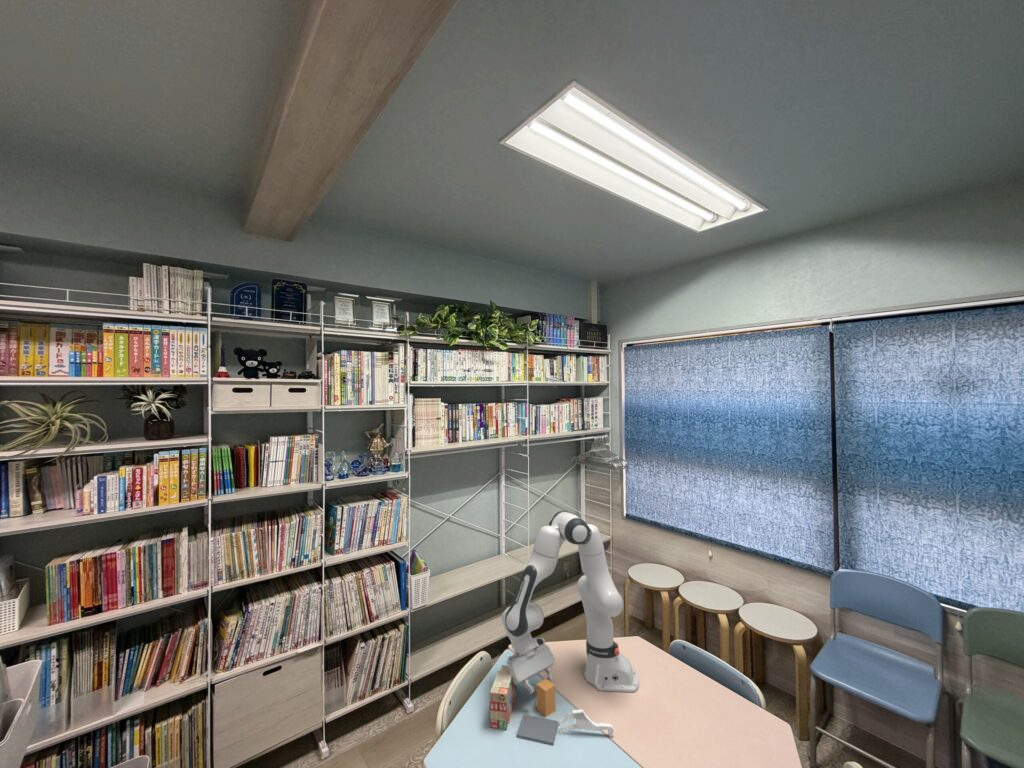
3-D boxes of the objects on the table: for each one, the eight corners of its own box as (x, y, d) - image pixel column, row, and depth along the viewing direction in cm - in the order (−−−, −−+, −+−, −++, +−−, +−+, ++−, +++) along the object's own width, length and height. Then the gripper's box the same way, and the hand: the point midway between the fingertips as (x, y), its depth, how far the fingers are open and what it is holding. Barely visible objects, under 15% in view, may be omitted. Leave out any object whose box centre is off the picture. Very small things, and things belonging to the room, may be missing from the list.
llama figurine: (568, 753, 137) (616, 736, 136) (555, 720, 138) (602, 702, 137) (567, 749, 139) (615, 732, 137) (555, 716, 140) (601, 699, 139)
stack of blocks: (502, 688, 161) (502, 656, 162) (517, 690, 160) (517, 658, 161) (489, 728, 140) (489, 691, 142) (507, 730, 139) (506, 693, 140)
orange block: (546, 703, 152) (545, 678, 153) (555, 710, 149) (555, 685, 149) (536, 709, 149) (536, 684, 150) (546, 716, 146) (545, 690, 146)
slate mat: (558, 723, 142) (558, 721, 142) (553, 745, 133) (553, 742, 133) (523, 716, 146) (523, 714, 146) (516, 737, 136) (516, 734, 136)
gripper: (508, 655, 152) (525, 696, 143) (546, 637, 164) (564, 673, 156) (501, 662, 155) (517, 702, 146) (539, 643, 167) (556, 679, 159)
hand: (542, 687), depth 151 cm, fingers open, 8 cm apart
